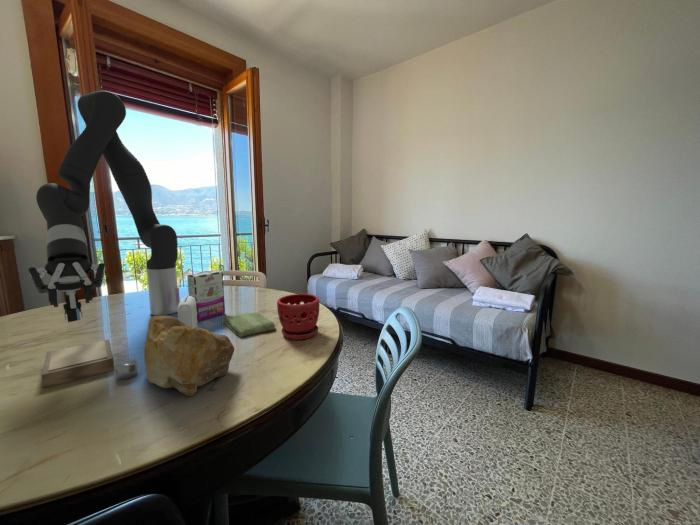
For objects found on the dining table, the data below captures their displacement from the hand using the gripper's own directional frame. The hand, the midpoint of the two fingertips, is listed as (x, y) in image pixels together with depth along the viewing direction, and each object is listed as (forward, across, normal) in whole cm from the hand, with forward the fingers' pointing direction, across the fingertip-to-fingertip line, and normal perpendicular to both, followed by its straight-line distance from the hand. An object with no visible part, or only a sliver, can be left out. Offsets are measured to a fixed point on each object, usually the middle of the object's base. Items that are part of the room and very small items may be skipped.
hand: (72, 303), depth 69 cm
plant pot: (+22, +52, +2) cm, 56 cm away
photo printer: (+8, +25, +16) cm, 31 cm away
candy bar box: (-3, +35, +26) cm, 44 cm away
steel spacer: (+19, +8, +4) cm, 21 cm away
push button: (+2, 0, +4) cm, 5 cm away
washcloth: (+10, +43, +14) cm, 46 cm away
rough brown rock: (+27, +20, -3) cm, 34 cm away
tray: (+11, 0, +13) cm, 17 cm away
